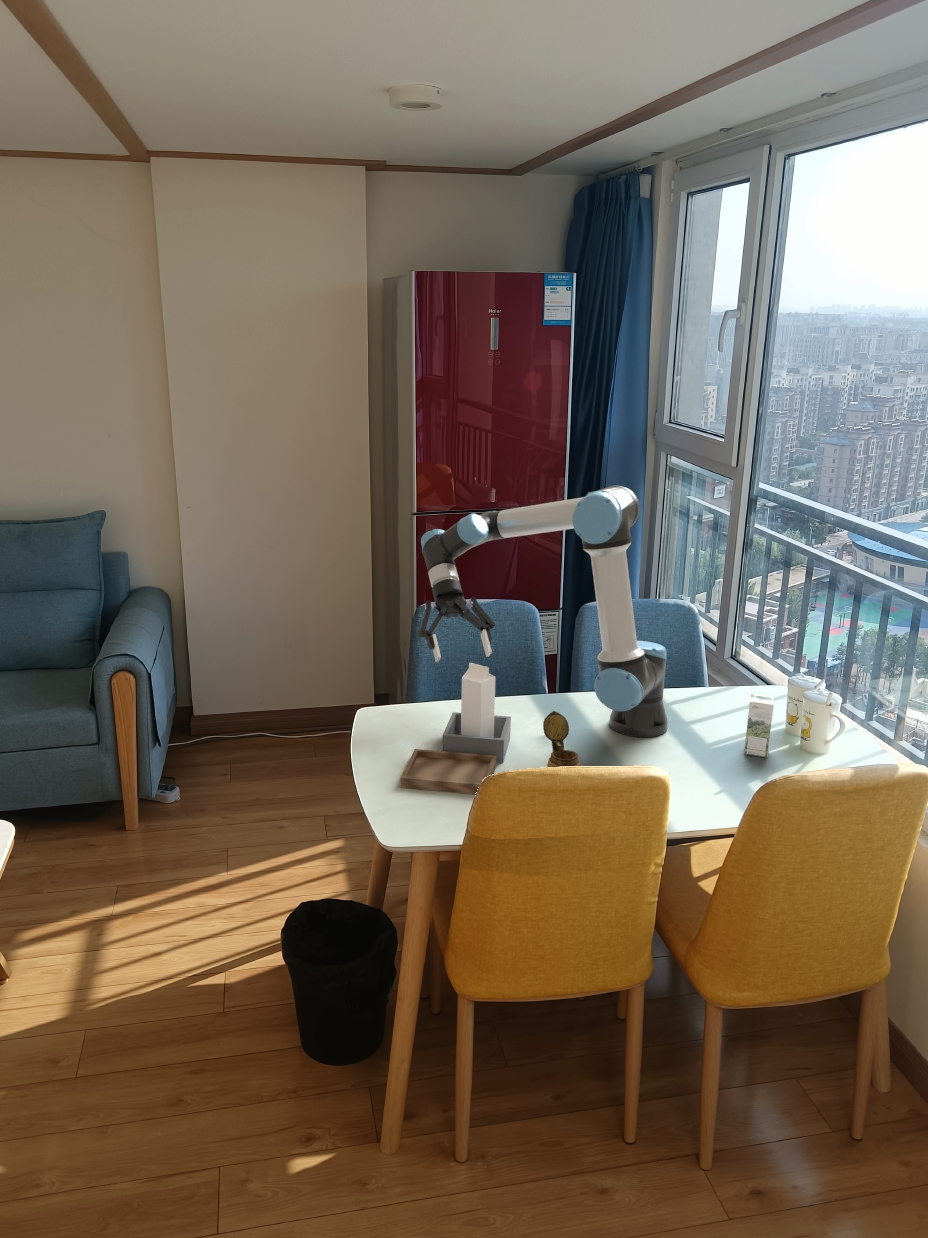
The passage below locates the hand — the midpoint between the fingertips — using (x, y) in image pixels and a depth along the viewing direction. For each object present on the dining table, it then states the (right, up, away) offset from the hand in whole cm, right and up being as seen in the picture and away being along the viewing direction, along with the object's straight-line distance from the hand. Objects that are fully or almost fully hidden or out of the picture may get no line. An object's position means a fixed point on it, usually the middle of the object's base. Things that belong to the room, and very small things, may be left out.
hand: (464, 657), depth 247 cm
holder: (+3, -23, -3) cm, 23 cm away
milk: (+3, -23, -3) cm, 23 cm away
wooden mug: (+22, -30, -27) cm, 46 cm away
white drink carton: (+73, -24, -2) cm, 77 cm away
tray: (-3, -27, -18) cm, 33 cm away
